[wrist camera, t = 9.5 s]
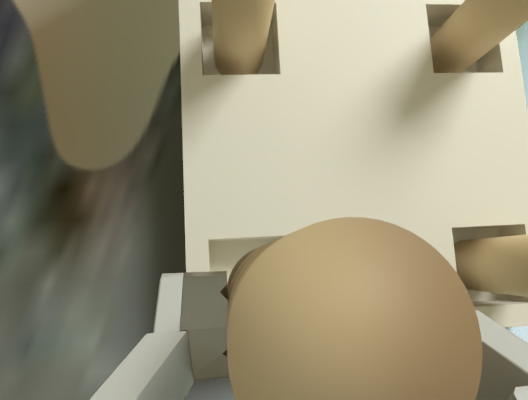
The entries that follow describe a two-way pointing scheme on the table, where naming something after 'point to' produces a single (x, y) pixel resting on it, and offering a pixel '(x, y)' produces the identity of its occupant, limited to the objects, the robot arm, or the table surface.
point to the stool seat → (359, 130)
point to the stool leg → (351, 318)
